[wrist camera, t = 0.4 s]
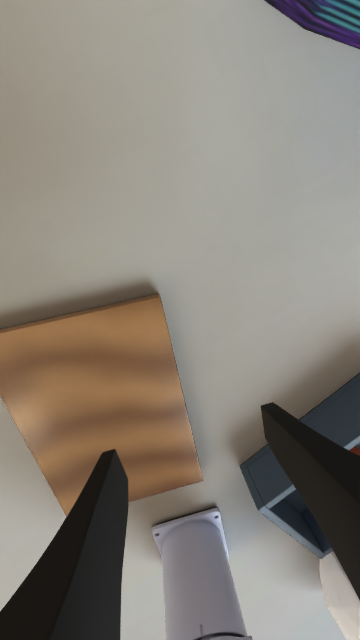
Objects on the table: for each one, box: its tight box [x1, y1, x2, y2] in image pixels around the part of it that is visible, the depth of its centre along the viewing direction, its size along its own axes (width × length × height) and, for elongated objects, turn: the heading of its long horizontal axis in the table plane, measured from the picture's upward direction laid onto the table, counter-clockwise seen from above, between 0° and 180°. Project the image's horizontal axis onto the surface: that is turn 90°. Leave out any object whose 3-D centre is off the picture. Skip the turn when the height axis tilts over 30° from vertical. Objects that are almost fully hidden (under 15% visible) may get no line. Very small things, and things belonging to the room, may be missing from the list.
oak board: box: [0, 294, 203, 516], centre depth 21 cm, size 20×14×1 cm
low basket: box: [240, 374, 360, 559], centre depth 25 cm, size 18×13×5 cm
